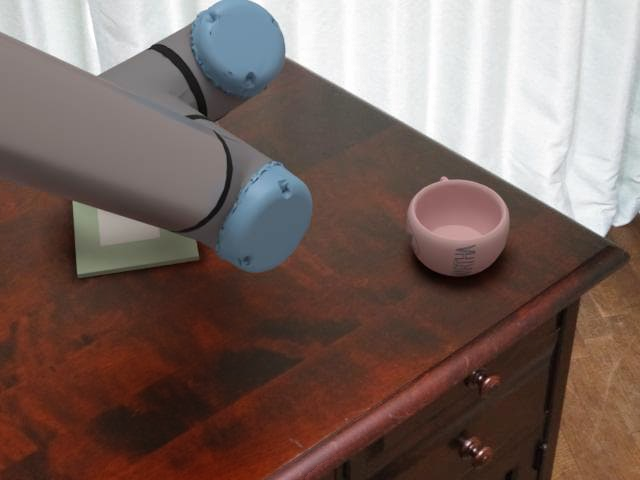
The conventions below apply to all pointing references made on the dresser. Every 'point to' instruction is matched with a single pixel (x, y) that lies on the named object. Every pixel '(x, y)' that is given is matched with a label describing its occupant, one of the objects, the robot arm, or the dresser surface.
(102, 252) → the chalk board
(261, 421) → the dresser surface
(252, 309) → the dresser surface
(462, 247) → the mug
